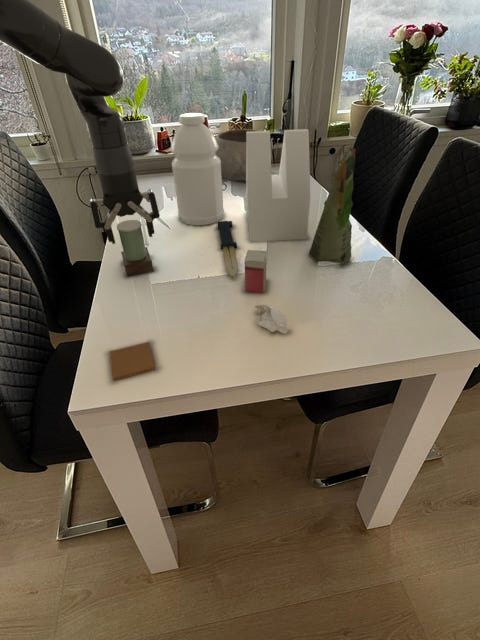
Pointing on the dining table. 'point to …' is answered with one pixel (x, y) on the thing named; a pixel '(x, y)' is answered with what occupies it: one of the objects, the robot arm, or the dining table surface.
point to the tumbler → (132, 240)
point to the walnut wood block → (138, 265)
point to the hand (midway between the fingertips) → (132, 239)
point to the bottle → (197, 172)
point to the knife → (228, 246)
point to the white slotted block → (278, 187)
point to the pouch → (336, 216)
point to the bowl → (233, 153)
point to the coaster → (131, 360)
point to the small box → (255, 271)
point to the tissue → (273, 319)
